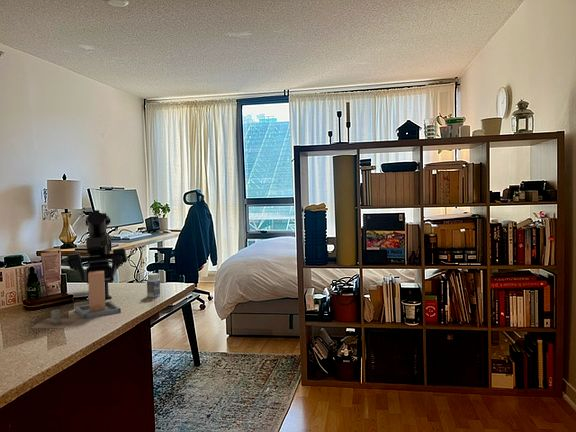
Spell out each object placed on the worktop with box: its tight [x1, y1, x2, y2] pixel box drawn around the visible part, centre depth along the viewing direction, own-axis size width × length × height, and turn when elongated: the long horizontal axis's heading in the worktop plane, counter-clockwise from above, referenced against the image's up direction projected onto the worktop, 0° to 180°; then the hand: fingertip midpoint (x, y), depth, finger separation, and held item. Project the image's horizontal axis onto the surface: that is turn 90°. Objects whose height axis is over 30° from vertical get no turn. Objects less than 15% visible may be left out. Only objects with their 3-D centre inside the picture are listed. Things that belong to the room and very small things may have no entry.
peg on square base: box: [29, 309, 80, 330], centre depth 129 cm, size 10×10×4 cm
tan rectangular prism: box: [88, 271, 106, 313], centre depth 139 cm, size 6×5×13 cm
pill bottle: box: [146, 272, 161, 298], centre depth 164 cm, size 5×5×8 cm
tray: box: [75, 301, 122, 320], centre depth 141 cm, size 12×11×2 cm
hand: (97, 279), depth 147 cm, fingers open, 9 cm apart
